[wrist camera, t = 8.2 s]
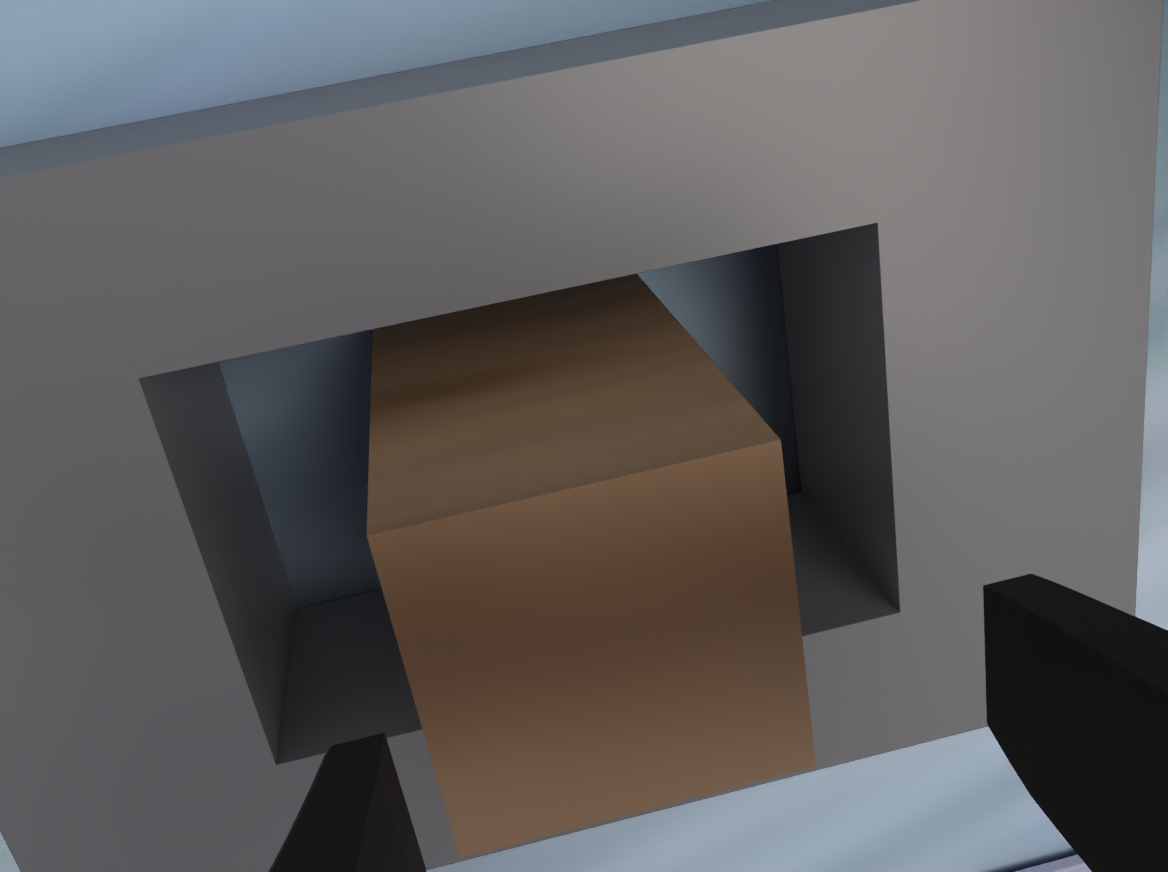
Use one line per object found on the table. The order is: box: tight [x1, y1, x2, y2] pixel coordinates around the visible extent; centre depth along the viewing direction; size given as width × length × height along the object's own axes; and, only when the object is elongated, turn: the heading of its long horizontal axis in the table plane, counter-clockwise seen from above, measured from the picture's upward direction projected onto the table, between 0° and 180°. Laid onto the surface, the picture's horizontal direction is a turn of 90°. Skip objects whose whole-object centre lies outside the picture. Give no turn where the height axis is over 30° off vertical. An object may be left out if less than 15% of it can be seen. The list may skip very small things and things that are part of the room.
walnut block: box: [367, 274, 816, 858], centre depth 18 cm, size 5×5×9 cm
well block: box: [0, 0, 1163, 872], centre depth 20 cm, size 13×20×5 cm, turn 100°
